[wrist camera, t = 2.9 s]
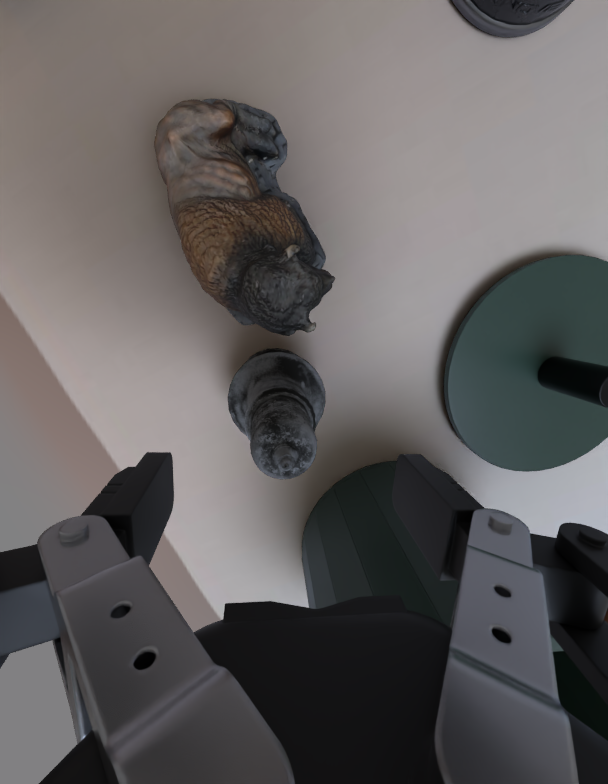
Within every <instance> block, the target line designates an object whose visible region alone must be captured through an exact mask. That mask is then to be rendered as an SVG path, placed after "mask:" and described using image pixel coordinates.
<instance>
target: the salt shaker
mask: <svg viewBox="0 0 608 784" xmlns="http://www.w3.org/2000/svg"><path fill="white" fill-rule="evenodd" d="M228 405H229V411H230V414H231V416H232V419H233V421H234V423H235V424H236V425H237V427H238V428H239V429H240V431H241V432H242V433H244V434H245V435H246V436H247V437H248V439H249V440H250V448H251V454H252V457H253V460H254V462H255V464H256V465H257V467H258V468H259V469H260V470H261V471H262V472H263V473H265V474H266V475H268V476H270V477H273V478H277V479H291V478H294V477H296V476H299V475H300V474H302V473H304V472H305V471H306V470H307V469H308V468H309V467H310V466H311V464H312V462H313V460H314V459H315V455H316V450H317V439H316V436H315V433H314V432H315V428H316V426H317V424H318V422H319V420H320V418H321V417H322V415H323V411H324V407H325V389H324V386H323V382H322V379H321V378H320V376H319V375H318V373H317V371H316V370H315V369H314V368H313V367H312V366H311V365H310V364H309V363H308V362H307V361H306V360H304V359H302V358H300V357H299V356H298V355H296V354H294V353H292V352H290V351H288V350H283V349H279V348H276V349H266V350H263V351H260V352H258V353H256V354H255V355H253V356H252V357H250V358H249V359H248V360H247V361H246V363H245V364H244V365H243V366H242V367H241V368H240V369H239V370H238V372H237V373H236V374H235V376H234V378H233V380H232V382H231V384H230V388H229V393H228Z"/></svg>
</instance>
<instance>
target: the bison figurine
mask: <svg viewBox="0 0 608 784" xmlns="http://www.w3.org/2000/svg"><path fill="white" fill-rule="evenodd" d="M154 146H155V152H156V157H157V162H158V166H159V170H160V172H161V175H162V178H163V180H164V183H165V184H166V185H167V191H168V199H169V207H170V211H171V215H172V219H173V222H174V225H175V227H176V230H177V232H178V235H179V237H180V240H181V245H182V249H183V251H184V254H185V256H186V259H187V261H188V263H189V264H190V267H191V270H192V272H193V274H194V275H195V277H196V278H197V280H198V281H199V282H200V284H201V286H202V288H203V290H204V291H205V292H207V293H208V294H209V295H210V296H212V297H213V298H214V299H215V300H216V301H217V302H219V303H220V304H222V305H223V306H224V307H226V308H227V310H228V311H229V312H230V313H231V314H232V315H233V317H234V318H235V319H236V320H237V321H238V322H239V323H241V324H242V325H251V324H255V323H256V324H258V325H260V326H261V327H263V328H265V329H267V330H269V331H271V332H274V333H278V334H281V335H286V336H290V335H292V334H294V333H295V331H296V330H303V331H305V332H311V331H314V330H315V327H316V323H315V322H314V323H311V322H310V320H309V313H310V311H311V310H312V309H313V308H315V307H316V306H317V305H318V304H319V303H320V301H321V298H322V297H323V296H324V295H325V294H326V293H327V292H328V291H329V290H330V289H331V288H332V283H333V282H334V280H335V277H334V276H331V274H330V273H329V272H328V271H326V270H323V269H322V267H323V265H324V263H325V260H326V256H325V253H324V251H323V249H322V247H321V245H320V243H319V240H318V238H317V237H316V235H315V234H314V232H313V231H312V229H311V228H310V226H309V224H308V221H307V219H306V218H305V216H304V215H303V213H302V210H301V208H300V205H299V203H298V202H297V200H296V199H294V198H292V197H290V196H289V195H288V194H286V193H282V192H281V190H280V188H279V186H278V183H277V180H276V172H277V170H278V169H279V168H280V167H281V165H282V164H283V163H284V161H285V160H286V157H287V141H286V139H285V137H284V135H283V134H282V132H281V129H280V126H279V124H278V122H277V120H276V119H275V118H274V117H273V116H272V115H271V114H269V113H267V112H265V111H263V110H259V109H256V108H253V107H250V106H248V105H246V104H243V103H237V102H235V101H232V100H226V99H222V100H220V99H206V100H203V101H200V100H188V101H182V102H180V103H178V104H176V105H175V106H173V107H172V108H171V109H170V110H169V111H168V112H167V114H166V116H165V117H164V118H163V119H162V120H161V121H160V122H159V124H158V126H157V130H156V136H155V141H154Z"/></svg>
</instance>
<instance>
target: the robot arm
mask: <svg viewBox="0 0 608 784" xmlns="http://www.w3.org/2000/svg"><path fill="white" fill-rule="evenodd" d="M452 1H453V2H454V4H455V6H456V7H457V8H458V10H459V11H460V12H461V13H462V14H463V16H464V17H465V18H466V19H467V20H468V21H470V22H471V23H472V24H473V25H475V26H476V27H477V28H479V29H481V30H483V31H484V32H487V33H489V34H492V35H496V36H500V37H519V36H524V35H527V34H530V33H533V32H535V31H537V30H539V29H541V28H543V27H544V26H546V25H547V24H549V23H550V22H551V21H553V20H554V19H555V18H556V17H557V16H558V15H559V14H561V13H562V12H563V11H564V10H565V9H566V8H567V7H568V6H569V5H570V4H571V3H572V2H573V1H574V0H452ZM173 501H174V486H173V461H172V455H171V453H158V452H147V453H146V454H145V455H144V457H143V458H142V459H141V460H140V462H139V463H138V464H137V466H136V467H127V468H126V469H124V470H122V471H121V472H119V473H117V474H116V475H114V477H113V478H112V479H111V480H110V481H109V483H108V484H107V486H105V487H104V489H103V490H102V491H101V494H99V495H98V496H97V497H96V498H95V499H94V500H93V502H92V503H91V504H90V505H89V507H88V508H87V509H86V510H85V511H84V512H83V513H82V515H81V516H77V517H72V518H69V519H66V520H63V521H61V522H59V523H57V524H55V525H53V526H52V527H50V528H49V529H47V530H46V531H44V532H43V533H42V535H41V536H40V537H39V539H38V542H37V544H36V545H32V546H28V547H23V548H18V549H13V550H9V551H4V552H0V668H1V666H2V665H3V663H4V662H5V660H6V659H7V657H8V655H9V654H10V653H13V652H16V651H19V650H22V649H25V648H28V647H32V646H35V645H38V644H41V643H44V642H48V641H51V640H53V645H54V649H55V653H56V656H57V660H58V664H59V668H60V672H61V675H62V679H63V683H64V687H65V690H66V695H67V698H68V702H69V706H70V710H71V715H72V719H73V724H74V729H75V734H76V739H77V743H78V744H77V745H76V747H75V748H74V749H72V751H71V752H70V753H69V754H68V755H67V756H66V757H65V758H64V759H63V760H62V761H61V762H60V763H59V764H58V765H57V766H56V767H55V768H54V769H53V770H52V771H51V772H50V773H49V774H48V775H47V776H46V777H45V778H44V779H43V780H42V781H41V782H40V783H39V784H608V741H607V740H606V739H605V738H603V737H602V736H600V735H599V734H598V733H596V732H595V731H594V730H592V729H591V728H589V727H588V726H587V725H585V724H584V723H582V722H581V721H580V720H578V719H577V718H576V717H574V716H573V715H571V714H570V713H569V712H567V711H566V710H565V708H563V707H562V706H561V704H560V701H559V697H558V690H557V682H556V674H555V666H554V658H553V651H552V643H551V635H552V637H553V638H554V639H555V640H556V642H557V643H558V644H559V645H560V647H561V648H562V649H563V650H564V652H565V653H566V654H567V655H568V657H569V658H570V659H571V660H572V662H573V663H574V664H575V665H576V667H577V668H578V669H579V670H580V672H581V673H582V674H583V675H584V677H585V678H586V679H587V680H588V682H589V683H590V684H591V685H592V687H593V688H594V689H595V690H596V692H597V693H598V694H599V695H600V697H601V698H602V699H603V700H604V702H605V703H606V704H607V705H608V623H607V622H606V621H605V620H604V617H605V614H606V611H607V608H608V534H606V533H604V532H602V531H600V530H597V529H595V528H592V527H589V526H586V525H582V524H577V523H564V524H562V525H561V526H560V528H559V531H558V535H557V538H552V537H547V536H541V535H536V534H530V531H529V529H528V527H527V526H526V525H525V524H524V523H523V522H522V521H520V520H519V519H518V518H516V517H514V516H512V515H510V514H508V513H505V512H502V511H499V510H495V509H488V508H484V507H483V506H482V505H480V504H479V503H478V502H477V501H476V500H475V499H474V498H473V497H472V496H471V495H470V494H469V493H468V492H467V491H464V489H463V488H462V487H461V486H460V485H459V484H457V482H456V481H455V480H454V479H453V478H452V477H451V476H449V475H448V474H447V473H445V472H443V471H441V470H439V469H437V468H436V467H434V466H433V465H432V464H431V463H429V462H428V461H427V460H426V459H425V458H424V457H423V456H422V455H421V454H400V455H399V456H398V458H397V463H396V470H395V477H394V484H393V491H392V501H393V506H394V509H395V511H396V513H397V514H398V516H399V517H400V519H401V520H402V522H403V524H404V525H405V527H406V528H407V530H408V531H409V533H410V535H411V536H412V538H413V539H414V541H415V543H416V544H417V546H418V547H419V549H420V550H421V552H422V554H423V555H424V557H425V558H426V560H427V562H428V563H429V565H430V566H431V568H432V569H433V571H434V573H435V574H436V576H437V577H438V579H439V580H440V581H447V580H457V582H458V587H457V592H456V597H455V602H454V607H453V612H452V618H451V623H450V627H449V626H447V625H446V624H444V623H442V622H440V621H438V620H436V619H434V618H432V617H429V616H427V615H424V614H421V613H418V612H414V611H410V610H407V609H406V607H405V605H404V603H403V600H402V598H401V596H400V595H385V596H366V597H357V598H354V599H350V600H347V601H344V602H340V603H337V604H334V605H330V606H327V607H324V608H320V609H312V608H306V607H300V606H294V605H289V604H283V603H277V602H271V601H266V602H247V603H227V604H225V610H224V618H223V620H221V621H217V622H215V623H212V624H210V625H207V626H205V627H203V628H201V629H199V630H197V631H196V632H194V633H193V631H192V630H191V628H190V627H189V625H188V624H187V622H186V621H185V619H184V618H183V616H182V615H181V613H180V612H179V610H178V609H177V607H176V606H175V604H174V603H173V601H172V600H171V598H170V597H169V595H168V594H167V592H166V591H165V590H164V588H163V586H162V585H161V584H160V582H159V581H158V579H157V578H156V576H155V574H154V573H153V571H152V570H151V569H150V567H149V564H150V562H151V559H152V557H153V555H154V552H155V550H156V548H157V545H158V543H159V541H160V538H161V536H162V534H163V531H164V529H165V527H166V524H167V522H168V520H169V517H170V515H171V512H172V508H173ZM550 634H551V635H550Z"/></svg>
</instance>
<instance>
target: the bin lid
mask: <svg viewBox="0 0 608 784" xmlns="http://www.w3.org/2000/svg"><path fill="white" fill-rule="evenodd" d="M444 396H445V403H446V409H447V412H448V415H449V418H450V421H451V423H452V425H453V427H454V430H455V431H456V433H457V434H458V436H459V437H460V439H461V440H462V441H463V443H464V444H465V445H466V446H467V447H468V448H469V449H470V450H471V451H473V452H474V453H475V454H477V455H478V456H479V457H481V458H482V459H484V460H485V461H487V462H489V463H491V464H493V465H496V466H498V467H501V468H504V469H509V470H514V471H540V470H545V469H551V468H554V467H557V466H561V465H564V464H566V463H568V462H571V461H573V460H575V459H577V458H579V457H581V456H582V455H584V454H586V453H588V452H589V451H591V450H592V449H593V448H595V447H596V446H598V445H599V444H600V443H601V442H602V441H604V440H605V439H606V438H607V437H608V262H607V261H604V260H601V259H598V258H595V257H589V256H584V255H565V256H557V257H550V258H545V259H542V260H538V261H535V262H532V263H530V264H527V265H525V266H523V267H520V268H518V269H517V270H515V271H513V272H512V273H510V274H508V275H507V276H505V277H504V278H502V279H501V280H500V281H498V282H497V283H496V284H495V285H493V286H492V287H491V288H490V289H489V290H488V291H487V292H486V293H485V294H484V295H483V296H482V297H481V298H480V299H479V300H478V301H477V302H476V304H475V305H474V306H473V307H472V308H471V310H470V311H469V313H468V314H467V316H466V317H465V319H464V320H463V322H462V323H461V325H460V327H459V329H458V331H457V333H456V335H455V337H454V340H453V343H452V345H451V348H450V351H449V354H448V358H447V363H446V367H445V376H444Z"/></svg>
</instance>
